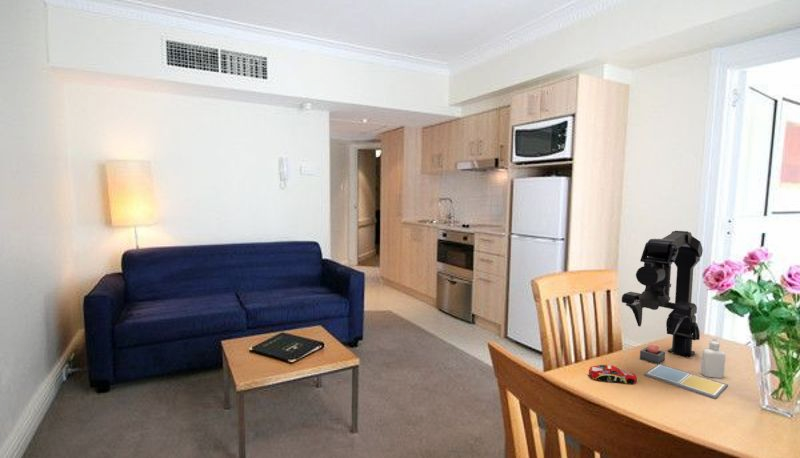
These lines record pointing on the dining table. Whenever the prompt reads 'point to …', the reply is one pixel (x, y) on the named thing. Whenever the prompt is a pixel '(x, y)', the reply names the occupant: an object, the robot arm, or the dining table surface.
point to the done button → (652, 349)
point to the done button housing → (652, 356)
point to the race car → (612, 374)
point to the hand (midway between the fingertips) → (655, 330)
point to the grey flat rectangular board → (687, 380)
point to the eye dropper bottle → (713, 361)
